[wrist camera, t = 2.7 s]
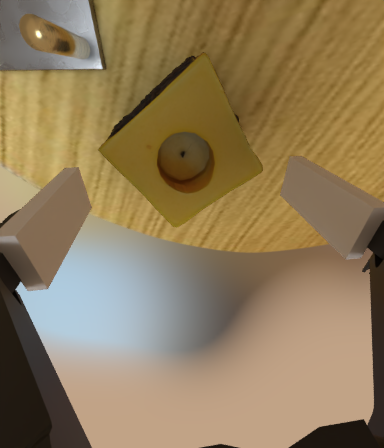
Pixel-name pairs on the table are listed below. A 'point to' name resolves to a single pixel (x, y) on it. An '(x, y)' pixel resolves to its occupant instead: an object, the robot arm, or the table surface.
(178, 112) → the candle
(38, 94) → the table surface
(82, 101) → the table surface
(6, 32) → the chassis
